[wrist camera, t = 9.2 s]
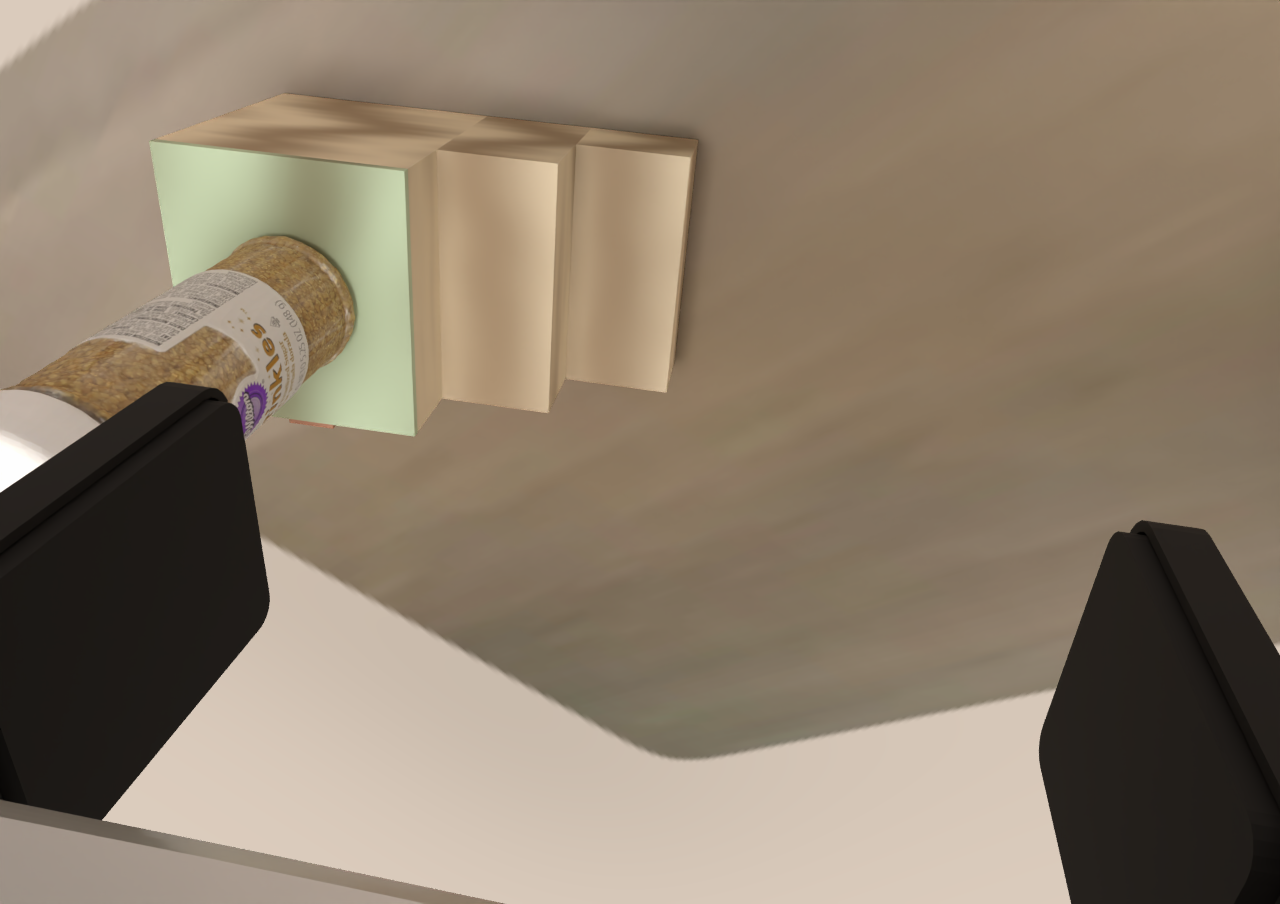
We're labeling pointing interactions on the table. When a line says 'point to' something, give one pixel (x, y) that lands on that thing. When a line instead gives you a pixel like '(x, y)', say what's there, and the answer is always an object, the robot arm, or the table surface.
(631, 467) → the table surface
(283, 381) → the spice jar
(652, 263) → the step stand
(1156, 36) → the table surface
